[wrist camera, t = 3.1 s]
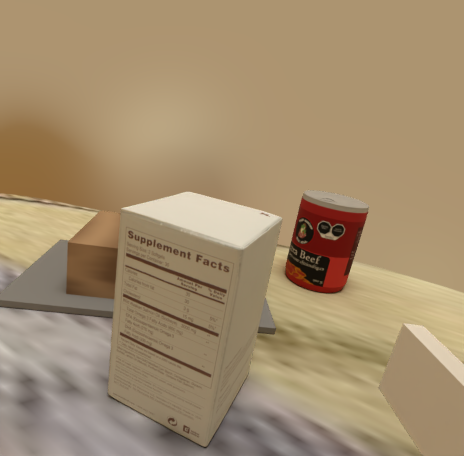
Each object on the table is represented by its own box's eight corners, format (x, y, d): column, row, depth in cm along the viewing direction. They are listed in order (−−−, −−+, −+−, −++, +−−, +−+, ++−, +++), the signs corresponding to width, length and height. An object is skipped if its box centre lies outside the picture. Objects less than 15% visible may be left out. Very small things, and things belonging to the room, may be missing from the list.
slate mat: (253, 268, 45) (254, 264, 44) (274, 333, 31) (275, 328, 31) (60, 244, 41) (60, 239, 41) (-7, 305, 28) (-7, 299, 28)
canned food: (272, 268, 46) (291, 188, 43) (317, 265, 50) (337, 191, 46) (309, 297, 40) (333, 206, 36) (357, 291, 43) (383, 208, 40)
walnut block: (183, 262, 41) (189, 222, 40) (178, 306, 32) (185, 257, 30) (98, 251, 40) (100, 210, 38) (66, 293, 31) (67, 242, 29)
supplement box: (167, 338, 28) (188, 188, 24) (250, 375, 26) (287, 216, 22) (102, 396, 22) (116, 204, 18) (205, 454, 19) (246, 245, 15)
